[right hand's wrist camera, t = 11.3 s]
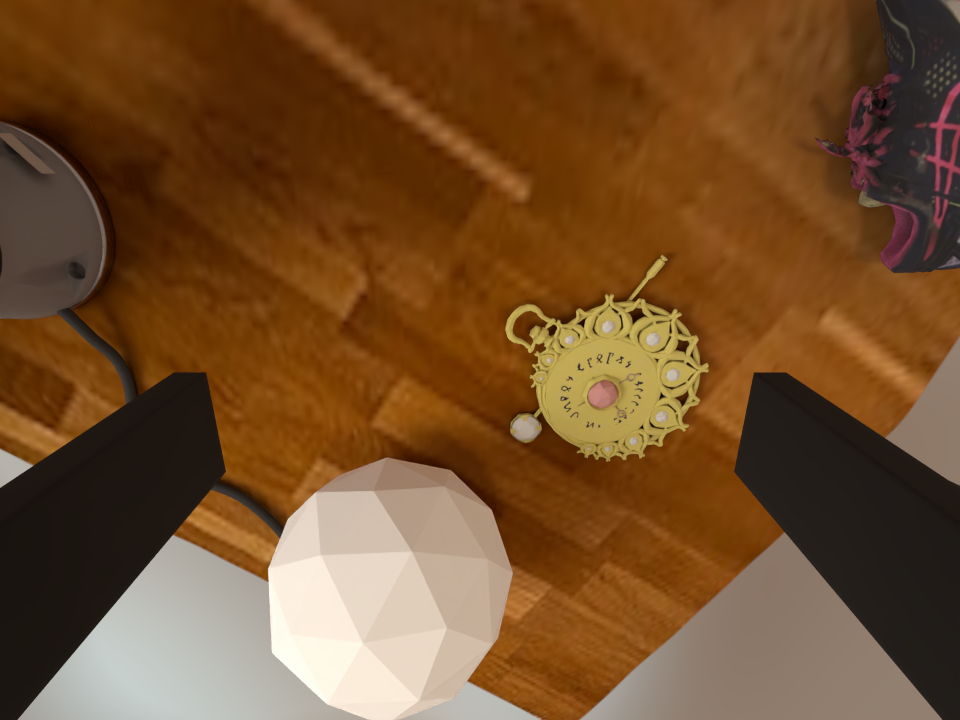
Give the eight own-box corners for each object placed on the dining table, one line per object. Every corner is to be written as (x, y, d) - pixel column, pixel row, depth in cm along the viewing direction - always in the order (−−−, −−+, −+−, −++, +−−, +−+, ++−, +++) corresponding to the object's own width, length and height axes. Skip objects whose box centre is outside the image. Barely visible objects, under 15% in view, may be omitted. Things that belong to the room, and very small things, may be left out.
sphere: (440, 504, 59) (438, 714, 49) (261, 476, 50) (210, 730, 39) (546, 449, 46) (575, 720, 36) (330, 395, 37) (281, 745, 26)
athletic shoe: (1000, -120, 29) (789, 13, 32) (1208, 212, 28) (968, 318, 31) (894, 1, 40) (744, 92, 43) (1039, 243, 39) (875, 319, 42)
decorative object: (620, 510, 49) (446, 407, 44) (613, 494, 52) (447, 395, 47) (779, 343, 43) (598, 203, 38) (763, 333, 46) (591, 200, 41)
